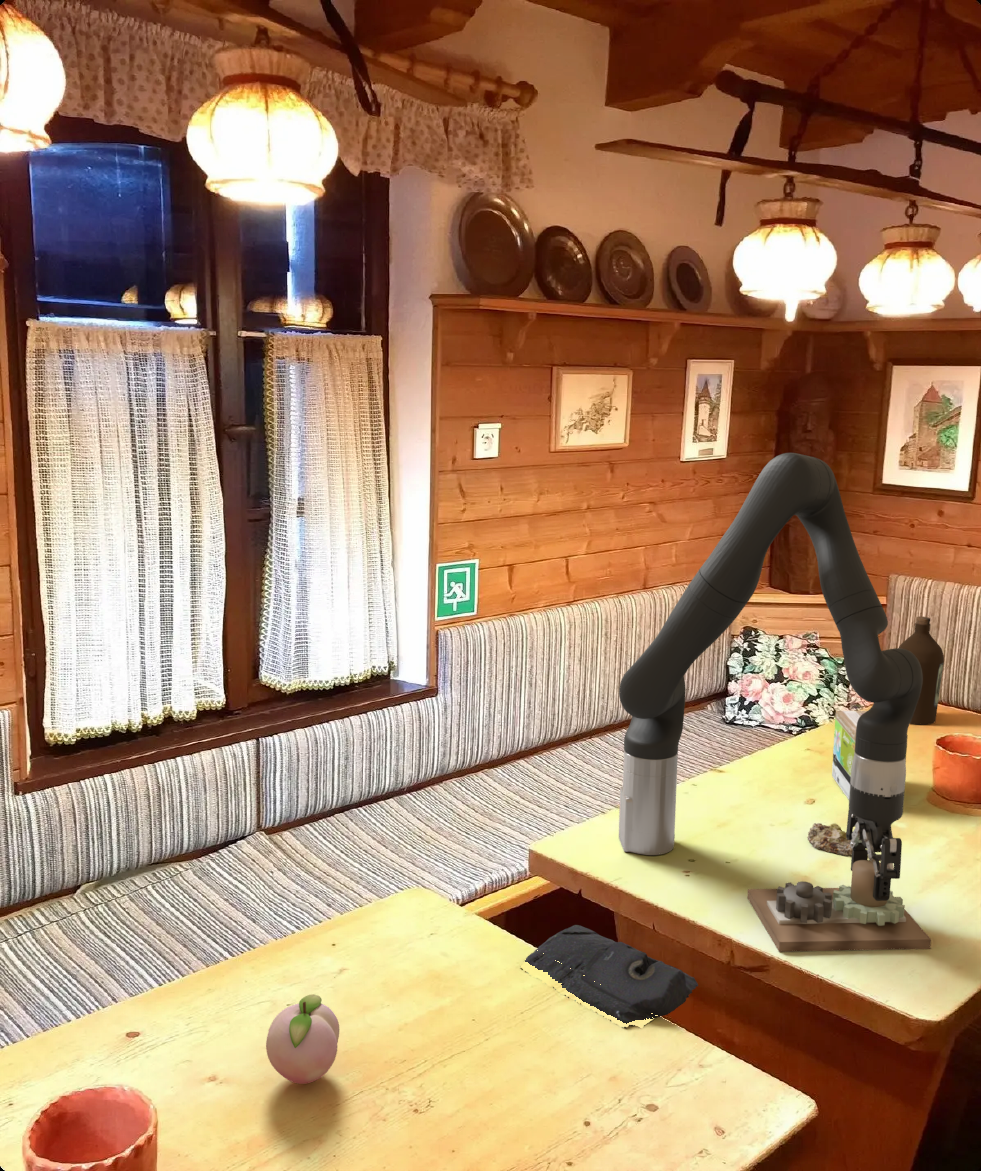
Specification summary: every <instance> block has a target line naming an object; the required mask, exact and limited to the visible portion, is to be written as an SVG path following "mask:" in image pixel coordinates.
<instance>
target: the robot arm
mask: <svg viewBox="0 0 981 1171" xmlns="http://www.w3.org/2000/svg"><path fill="white" fill-rule="evenodd" d="M793 516H796V517H797V518H798V519H799V521H800V522H801V524H802V525H803V527H804V528H805V530H806V532H807V534H808V535H809V537H810V540H811V542H812V545H813V548H814V552H815V556H816V560H817V561H816V562H817V568H818V569H817V570H818V577H819V584H820V588H821V592H822V595H823V598H824V601H825V603H826V606H827V609H828V610H829V612H830V615H831V617H832V619H833V622H834V624H835V626H836V628H837V631H838V632H839V636H840V642H841V643H840V645H841V650H842V657H843V661H844V666H845V672H846V677H847V680H848V682H849V684H850V686H851V688H852V690H853V691H854V692H855V693H856V694H857V695H858V696H859V697H860V698H861V699H862V700H864V701H866V702H869V703H873V704H872V706H871V707H870V708H869V709H868V710H866V711H867V712H865V713H864V714H862V715H861V716H860V717H859V719H858V722H857V727H856V739H855V752H854V758H853V762H852V768H851V782H850V795H849V800H848V812H847V820H846V821H847V822H846V823H847V824H846V831H845V832H846V838H847V840H851V842H850V847H851V849H852V855H851V859H850V860H851V861H850V862H851V863H850V871H851V872H852V867H853V863H854V862H856V861H859V860H870V861H872V862H873V866H874V872H875V875H874V887H873V898H874V899H875V900H876V901H887V900H889V898H890V890H891V883H892V879H893V880H894V879H896V880H897V879H898V880H899V879H900V878H901V867H902V866H901V864H902V849H903V848H902V847H903V842H902V838H901V837H894V836H893V831H892V824H894V823H895V822H897V821H899V820H901V818H902V817H903V814H904V802H905V789H906V781H907V780H906V779H907V778H906V777H907V766H906V763H907V762H906V763H905V756H906V757H907V752H906V745H907V746H908V737H907V735H908V730H909V728H910V727H909V726H910V722H911V720H912V717H913V714H914V711H915V708H916V705H917V702H918V699H919V696H920V693H921V689H922V682H923V675H922V669H921V665H920V663H919V661H918V659H917V658H916V656H915V655H914V654H913V653H912V652H910V651H908V650H906V649H902V648H899V647H897V648H896V647H895V648H890V649H886V650H882V648H881V645H880V644H881V643H880V639H879V635H880V634H882V633H884V631H885V630H886V629H887V627H888V624H889V621H888V617H887V614H886V612H885V610H884V607H883V606H882V602H881V600H880V599H879V596H878V594H877V592H876V590H875V588H874V586H873V584H872V582H871V579H870V577H869V575H868V572H867V571H866V568H865V566H864V563H863V561H862V559H861V556H860V554H859V551H858V549H857V546H856V543H855V540H854V538H853V534H852V531H851V528H850V525H849V521H848V518H847V515H846V511H845V508H844V504H843V501H842V497H841V493H840V490H839V486H838V483H837V479H836V477H835V474H834V472H833V470H832V468H831V467H830V466H829V465H828V463H827V462H825V461H824V460H821V459H820V458H817V457H814V456H809V455H806V454H805V455H804V454H802V453H801V454H800V453H796V452H784V453H781V454H779V455H776V456H775V457H773V458H772V459H771V460H769V461H768V462H767V464H766V465H765V466H763V468H762V470H761V472H760V473H759V475H758V477H757V478H756V480H755V482H754V483H753V485H752V487H751V489H750V490H749V493H748V495H747V496H746V498H745V500H744V502H743V504H742V506H741V508H740V509H739V511H738V513H737V514H736V516H735V518H734V519H733V521H732V522H731V524H730V526H729V527H728V528H727V530H726V531H725V532H724V534H723V535H722V537H721V538H720V540H719V541H718V542H717V544H716V546H715V548H713V550H712V552H711V553H710V554H709V555H708V557H707V559H706V560H705V561H704V562H703V563H702V565H701V566H700V568H699V569H698V571H697V572H696V574H695V575H694V576H693V578H692V580H690V582H689V583H688V585H687V587H686V589H685V590H684V592H683V593H682V595H681V597H680V598H679V600H678V601H677V602H676V604H675V606H674V608H673V609H672V610H671V612H670V614H669V616H668V617H667V619H666V621H665V623H664V624H663V626H662V627H661V629H660V631H659V633H658V634H657V635H656V637H655V638H654V640H652V642H651V643H650V644H649V646H648V647H647V648H646V649H645V651H643V653H642V654H641V655H640V657H638V659H636V661H635V662H634V663H633V664H632V665H631V666H630V667H629V668H628V669H627V671H626V672H625V673H624V674H623V676H622V678H621V680H620V682H619V687H618V688H619V689H618V690H619V691H618V695H619V696H618V697H619V702H620V704H621V706H622V708H623V710H624V711H625V712H626V713H627V714H629V715H630V716H631V720H630V723H629V726H628V728H627V730H626V732H625V734H624V737H623V738H624V739H623V766H622V767H623V768H622V770H623V772H622V786H621V787H620V788H619V812H618V813H619V815H618V818H619V819H618V839H619V842H620V844H621V847H622V849H623V851H624V852H625V853H626V852H629V853H635V854H638V855H642V856H643V855H646V856H659V855H664V854H666V853H670V852H671V851H672V850H673V849H674V846H675V838H676V833H675V832H676V830H675V829H676V810H677V808H676V805H677V783H678V782H677V781H678V780H677V779H678V761H679V760H678V757H679V743H680V740H681V737H682V734H683V729H684V717H685V709H686V708H685V707H686V706H685V705H686V681H685V675H686V673H687V672H688V671H689V669H690V667H691V666H692V664H694V662H696V660H697V659H698V658H699V657H700V656H701V655H702V654H703V653H704V652H705V651H706V650H708V649H709V648H710V646H711V645H713V644H714V643H715V642H716V641H717V639H718V638H720V637H721V636H722V635H723V634H724V632H726V630H727V629H728V628H729V627H730V626H731V625H732V624H733V622H734V621H735V620H736V619H737V617H738V616H739V615H740V613H741V612H742V610H743V609H744V608H745V607H746V605H747V604H748V603H749V601H750V600H751V598H752V596H753V595H754V594H755V592H756V589H757V587H758V584H759V581H760V579H761V578H760V577H761V575H762V574H761V573H762V570H763V566H764V561H765V558H766V554H767V552H768V551H769V548H770V546H771V544H772V543H773V541H774V540H775V539H776V537H777V536H778V535H779V533H780V532H781V530H782V529H783V528H784V527H785V525H786V524H787V523H788V522H789V521H790V520H791V518H792V517H793ZM854 827H855V828H854ZM878 853H880V854H878ZM879 862H880V863H881V864H879Z"/></svg>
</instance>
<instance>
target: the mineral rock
mask: <svg viewBox="0 0 981 1171" xmlns="http://www.w3.org/2000/svg"><path fill="white" fill-rule="evenodd" d="M806 838H807V841H808V843H809V844H810V845H811V847H812V848H813V849H818V850H823V852H827V853H831V854H832V853H833V854H836V855H839V856H840V855H841V856H852V849H851V847H850V842H851V840H847V838H846V831H845V830H844V831H843V829H842V828H841V826H840V825H839V824H838V823H831V824H829V825H825V824H822V823H821V822H820V823H819V822H818V823H816V822H815V823H813V824H812V826H811V827H810V828H809V831H808V833H807V837H806Z"/></svg>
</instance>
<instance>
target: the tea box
mask: <svg viewBox="0 0 981 1171" xmlns="http://www.w3.org/2000/svg"><path fill="white" fill-rule="evenodd" d="M835 710H836V711H835V714H834V716H835V717H834V718H835V719H834V733H833V735H834V736H833V750H832V752H833V753H832V765H831V766H832V767H831V768H832V770H831V771H832V772H831V773H832V774H831V776H832V778H833V779H834V781H835V782H836V784H837V785H838V787H839V788H840V789H841V791H842V792H843V794H844V795H845V796H846V798H847V799H848V801H849V795H850V782H851V768H852V762H853V758H854V752H855V739H856V727H857V722H858V719H859V717H860V716H861V715H862V714H864V713H865V712H867V711H868V710H837V709H835ZM907 738H908V734H907ZM907 750H908V744H907V745H906V753H907ZM905 763H907V755H906V756H905Z"/></svg>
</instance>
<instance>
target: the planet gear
mask: <svg viewBox="0 0 981 1171" xmlns="http://www.w3.org/2000/svg"><path fill="white" fill-rule="evenodd" d="M879 864H881V861H879ZM874 875H875V872H874V866H873V862H872V861H870V860H869V859H867V860H859V861H856V862H854V863H853V867H852V871H851V882H850V884H851V885H850V886H846V885H844V884H842V885H839V887H838V888H839V891H836V890H834V892H833V902H834V909H835V910H836V911H843V916H844V917H846V918H847V919H849V918H851V917H854V918H857V919H860V921H859V923H863V924H866V922H876V923H877V924H878V926H882V925H885V922H892V923H894V924H895V923H897V922H899V917H902V918H903V916H904V909H905V906H906V905H905V904H903V903H904V902H903V901H904V899H903V898H902V897H901V896H894V895H893V893H894V892H893V890H891V889H890V898H889V900H887V901H876V900H875V899H874V898H873V887H874ZM892 895H893V896H894V897H893V896H892Z"/></svg>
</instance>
